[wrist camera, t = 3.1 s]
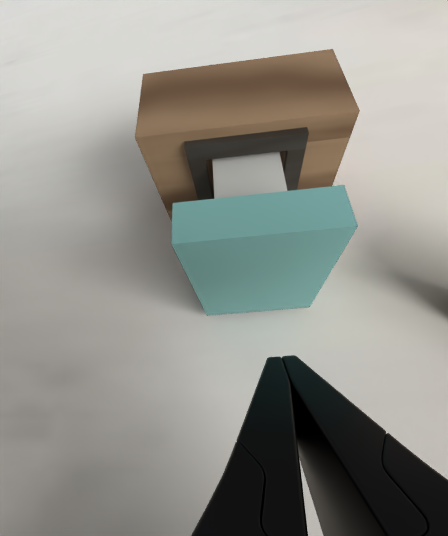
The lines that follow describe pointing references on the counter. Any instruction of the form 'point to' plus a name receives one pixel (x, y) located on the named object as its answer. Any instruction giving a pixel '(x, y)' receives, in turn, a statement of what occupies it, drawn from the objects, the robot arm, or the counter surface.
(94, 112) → the counter surface
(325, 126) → the block
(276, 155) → the teal flanged block
